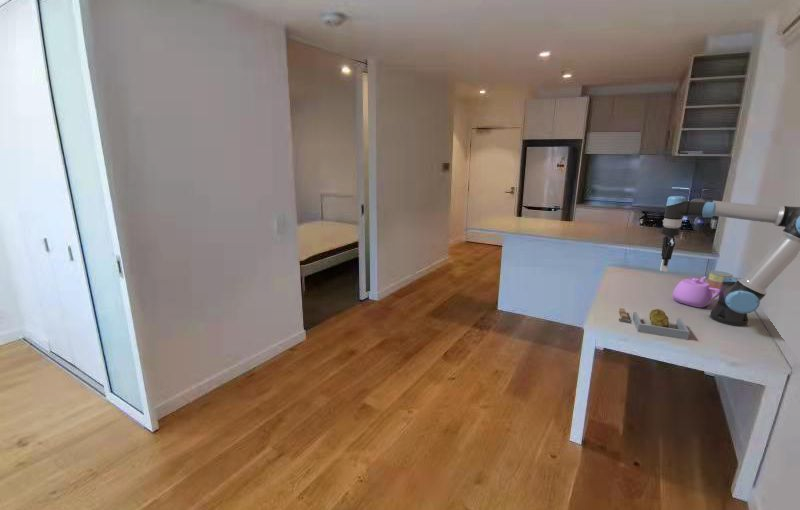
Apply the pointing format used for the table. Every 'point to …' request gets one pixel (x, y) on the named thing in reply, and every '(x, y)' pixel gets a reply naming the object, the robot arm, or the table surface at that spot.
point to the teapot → (694, 292)
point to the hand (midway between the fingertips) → (663, 270)
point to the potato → (659, 318)
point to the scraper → (623, 316)
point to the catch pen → (662, 329)
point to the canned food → (717, 279)
